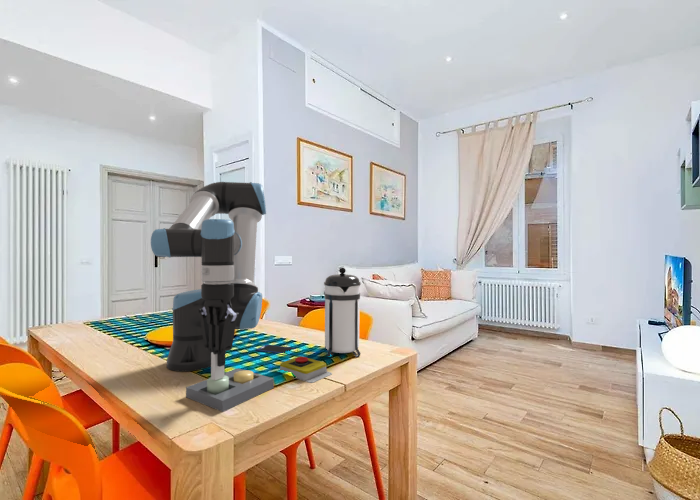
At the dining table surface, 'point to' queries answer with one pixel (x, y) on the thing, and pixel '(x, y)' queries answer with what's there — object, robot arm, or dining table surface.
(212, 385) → the sage button
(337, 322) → the coffee press
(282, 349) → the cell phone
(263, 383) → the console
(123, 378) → the dining table surface
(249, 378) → the tan button
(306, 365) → the emergency button
